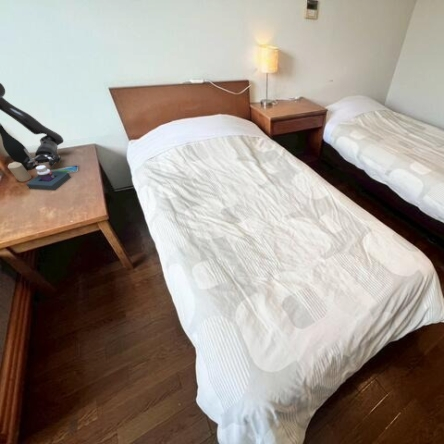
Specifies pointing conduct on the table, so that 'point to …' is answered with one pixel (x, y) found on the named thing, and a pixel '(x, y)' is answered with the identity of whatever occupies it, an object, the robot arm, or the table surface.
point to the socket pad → (51, 185)
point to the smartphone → (66, 169)
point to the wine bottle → (14, 148)
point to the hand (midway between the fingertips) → (40, 166)
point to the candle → (19, 171)
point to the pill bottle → (44, 173)
